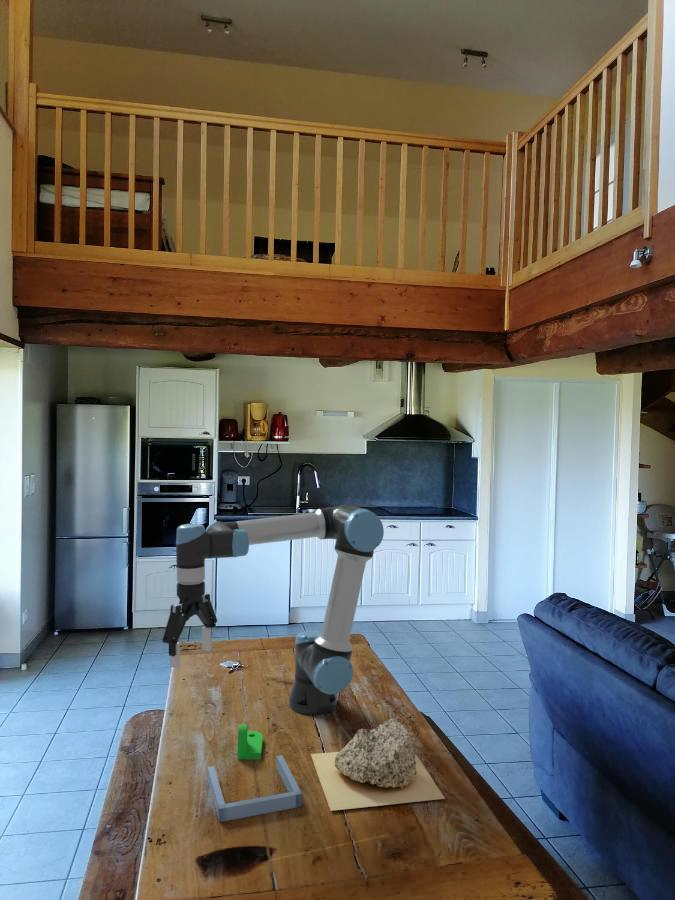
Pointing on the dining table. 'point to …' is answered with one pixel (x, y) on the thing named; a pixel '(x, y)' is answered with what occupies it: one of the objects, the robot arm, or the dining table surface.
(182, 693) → the dining table surface
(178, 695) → the dining table surface
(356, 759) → the rock
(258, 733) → the mechanical part
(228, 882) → the dining table surface
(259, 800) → the hub cradle
